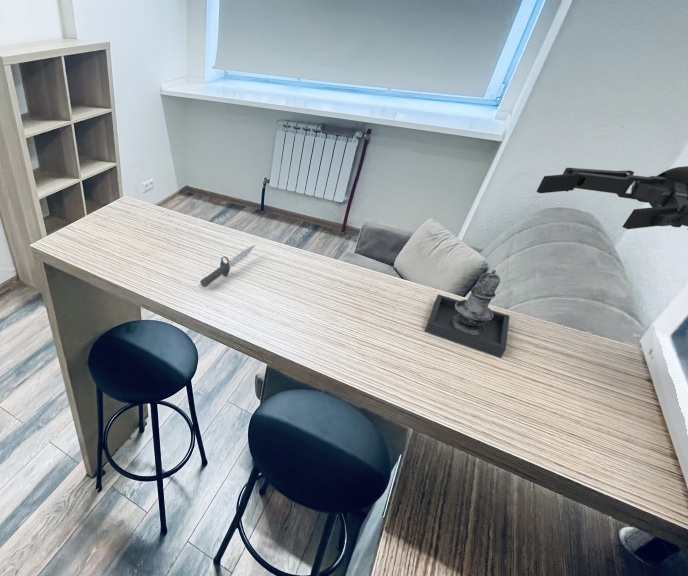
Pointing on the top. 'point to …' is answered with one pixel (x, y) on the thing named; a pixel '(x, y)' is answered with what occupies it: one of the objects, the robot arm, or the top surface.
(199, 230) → the top surface
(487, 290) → the salt shaker
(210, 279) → the knife
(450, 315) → the serving tray
